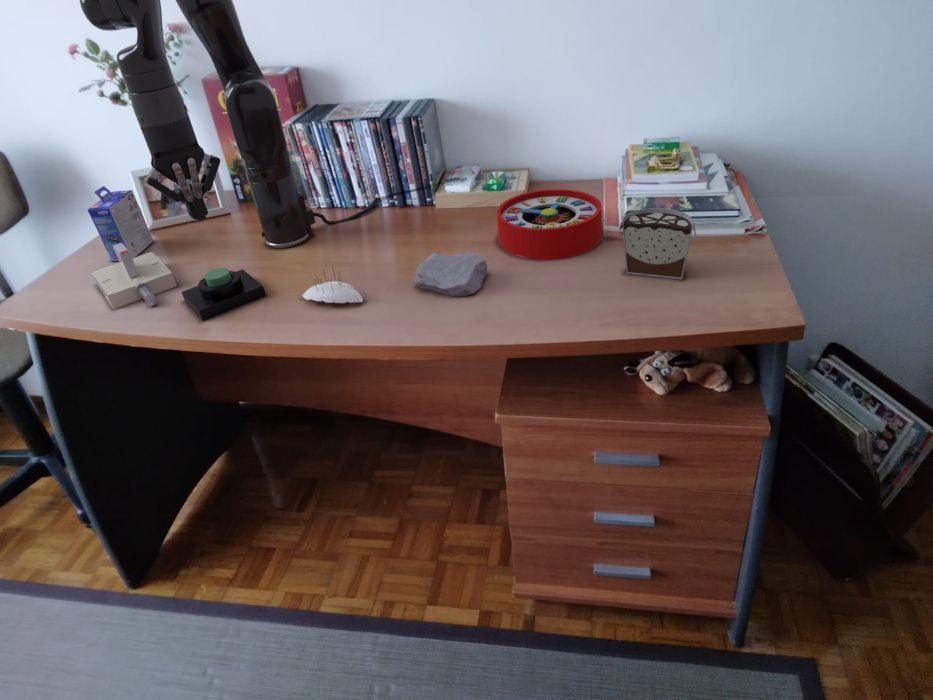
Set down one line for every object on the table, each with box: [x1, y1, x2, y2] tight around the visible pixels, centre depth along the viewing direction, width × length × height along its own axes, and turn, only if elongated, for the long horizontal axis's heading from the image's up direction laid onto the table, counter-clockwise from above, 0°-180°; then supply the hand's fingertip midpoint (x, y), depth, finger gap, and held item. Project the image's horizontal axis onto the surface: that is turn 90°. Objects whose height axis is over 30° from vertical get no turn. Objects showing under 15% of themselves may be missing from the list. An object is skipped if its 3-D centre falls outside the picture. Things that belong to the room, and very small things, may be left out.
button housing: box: [181, 268, 267, 322], centre depth 123 cm, size 12×10×4 cm
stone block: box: [414, 252, 488, 298], centre depth 119 cm, size 12×5×10 cm
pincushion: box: [301, 266, 364, 305], centre depth 118 cm, size 12×6×6 cm, turn 70°
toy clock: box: [496, 188, 603, 260], centre depth 131 cm, size 20×6×20 cm
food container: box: [618, 207, 697, 280], centre depth 114 cm, size 12×6×10 cm, turn 65°
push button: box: [203, 267, 232, 287], centre depth 122 cm, size 4×4×2 cm
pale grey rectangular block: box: [113, 243, 140, 279], centre depth 130 cm, size 6×2×5 cm, turn 37°
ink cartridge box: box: [87, 185, 154, 262], centre depth 144 cm, size 10×6×14 cm, turn 174°
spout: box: [135, 282, 157, 307], centre depth 125 cm, size 3×5×3 cm, turn 37°
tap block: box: [91, 251, 178, 310], centre depth 132 cm, size 12×14×3 cm
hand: (200, 219), depth 116 cm, fingers closed
